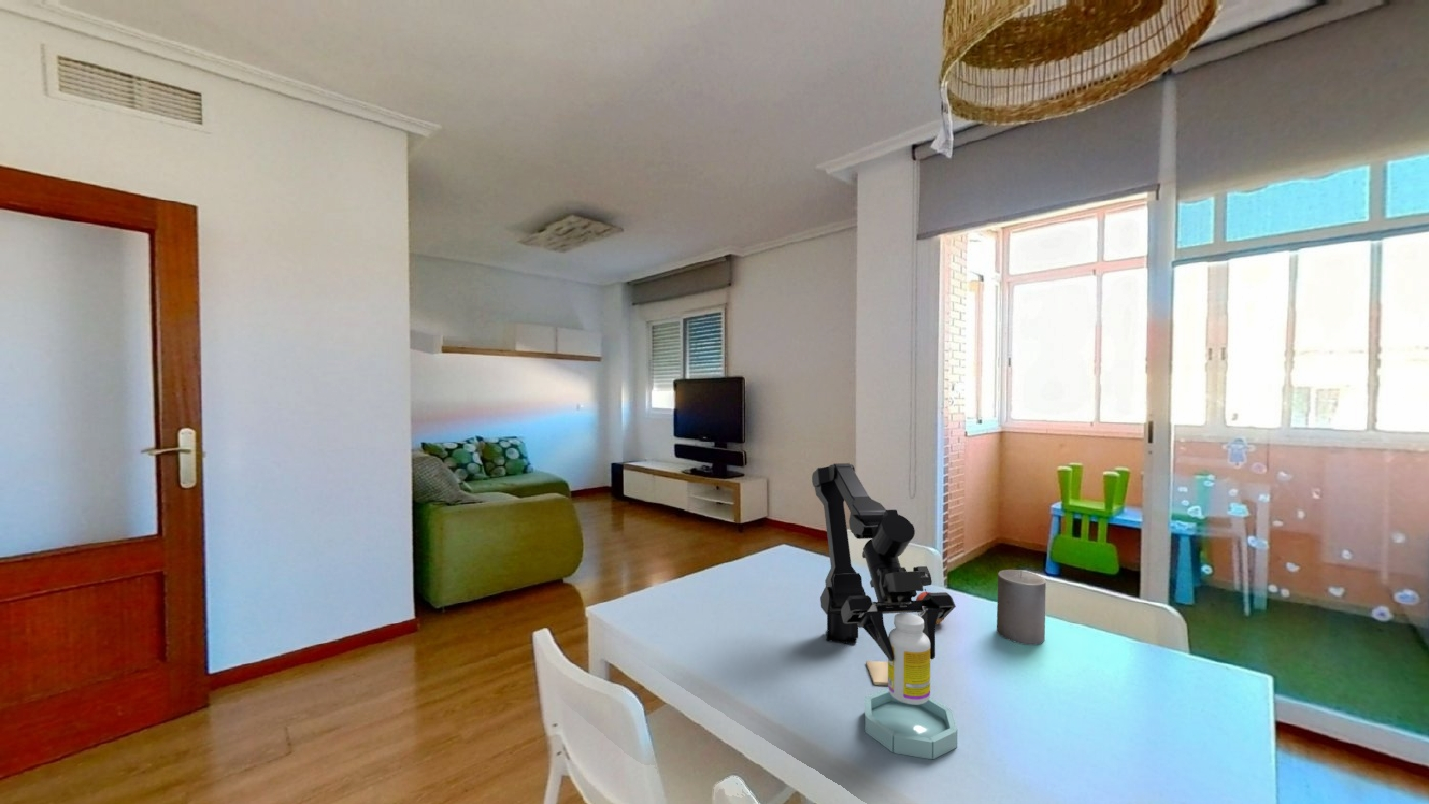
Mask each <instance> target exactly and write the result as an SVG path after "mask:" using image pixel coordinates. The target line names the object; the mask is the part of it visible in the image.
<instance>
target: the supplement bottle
mask: <svg viewBox="0 0 1429 804" xmlns="http://www.w3.org/2000/svg"><path fill="white" fill-rule="evenodd" d="M893 624H894V627H895V628H893V629H891V631H889V632H888V634H887V635H888V638H889V641H890V644H891V647H892V651H893V655H894V660H893V661H890V660H889V659H888V658H887V662H888V686H887V688H888V690H889V692H890V694H891V695H892V696H893V697H894V698H895V699H897V700H899V701H901V702H903V703H907V704H912V705H918V704H923V703H925V702H927V701H928V700H929V698H930V697H931V659H930V640H929V638H928V637H927V635H926V634H924V633H923V629H924V620H923V619H922V618H921V617H919V616H918V614H914V613H895V615H894V619H893Z"/></svg>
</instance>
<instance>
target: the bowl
mask: <svg viewBox="0 0 1429 804" xmlns="http://www.w3.org/2000/svg"><path fill="white" fill-rule="evenodd" d="M864 725H865V726H864V732H865V733H866V734H868V735H869V736H870V737H871V738H873V740H875V741H877V742H878V743H879V744H881V745H882V746H883V747H885V748H886V749H887V750H889V751H890V752H892V753H894V754H897V755H904V756H912V757H914V758H915V757H916V758H922V759H928V760H932V759H933V760H935V759H937V758H939V757H941V756H942V755H945V754H946V753H948V752H951V751H952V750H955V749H956V748H958V729H957V728H958V727H957V725H956V720H955V717H954V714H953V711H952V710H951V708H949V707H948V706H947V705H944V703H943V704H942V703H941V702H940V701H938V700H936V699H934V698H933V697H931V696H930V698H929V700H928V701H927V702H925V703H923V704H918V705H912V704H907V703H903V702H901V701H899V700H897V699H895V698H894V697H893V696H892V695H891V694H890V692H889V690H888V687H886V688H884V689H882V690H879V691H876V692H874V693H872V694H869V695H866V696H865V697H864Z"/></svg>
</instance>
